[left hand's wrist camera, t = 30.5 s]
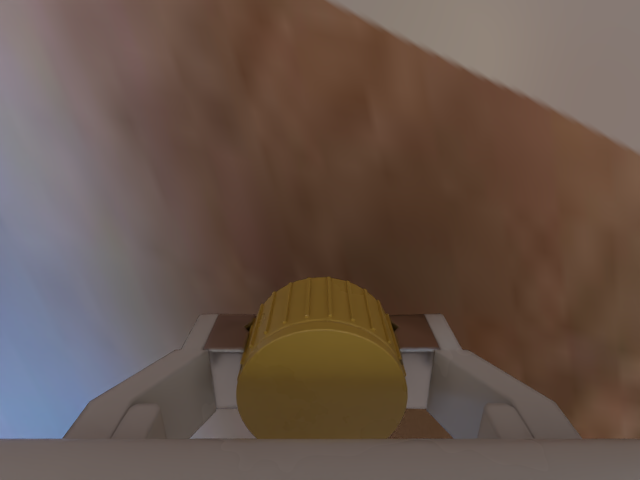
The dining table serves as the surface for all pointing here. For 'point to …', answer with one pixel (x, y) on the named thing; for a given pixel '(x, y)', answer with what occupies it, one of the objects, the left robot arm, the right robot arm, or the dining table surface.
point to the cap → (321, 365)
